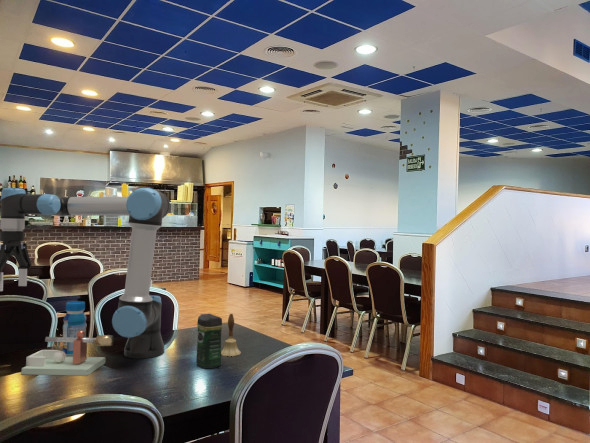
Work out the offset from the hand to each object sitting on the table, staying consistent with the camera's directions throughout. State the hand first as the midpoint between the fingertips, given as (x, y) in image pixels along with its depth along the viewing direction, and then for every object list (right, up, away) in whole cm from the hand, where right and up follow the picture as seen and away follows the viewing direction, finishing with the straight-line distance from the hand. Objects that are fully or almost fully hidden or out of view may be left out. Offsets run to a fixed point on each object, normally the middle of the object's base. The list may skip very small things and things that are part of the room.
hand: (10, 288), depth 158 cm
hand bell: (+78, -29, +16) cm, 85 cm away
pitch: (+23, -27, -6) cm, 36 cm away
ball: (+21, -23, -6) cm, 32 cm away
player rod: (+28, -25, -6) cm, 38 cm away
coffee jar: (+72, -29, +1) cm, 78 cm away
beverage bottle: (+17, -28, +12) cm, 34 cm away
